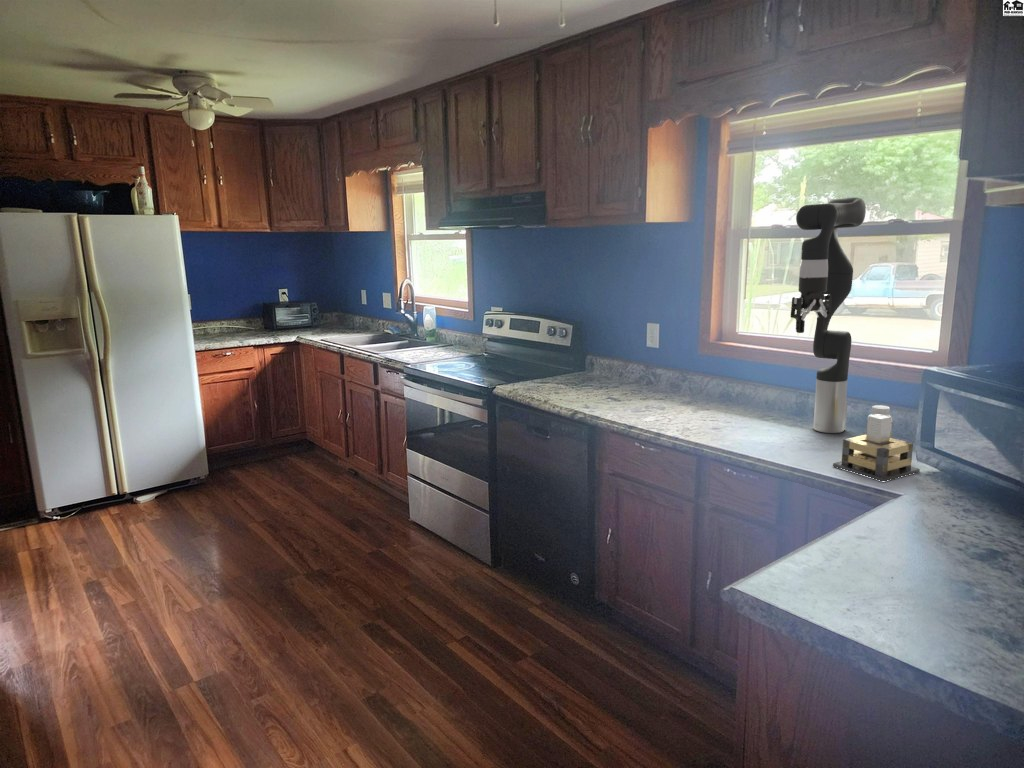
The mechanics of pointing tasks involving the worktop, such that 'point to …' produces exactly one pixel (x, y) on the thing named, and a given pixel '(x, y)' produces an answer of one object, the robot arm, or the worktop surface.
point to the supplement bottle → (881, 413)
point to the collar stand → (877, 458)
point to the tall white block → (878, 431)
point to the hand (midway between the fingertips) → (810, 331)
